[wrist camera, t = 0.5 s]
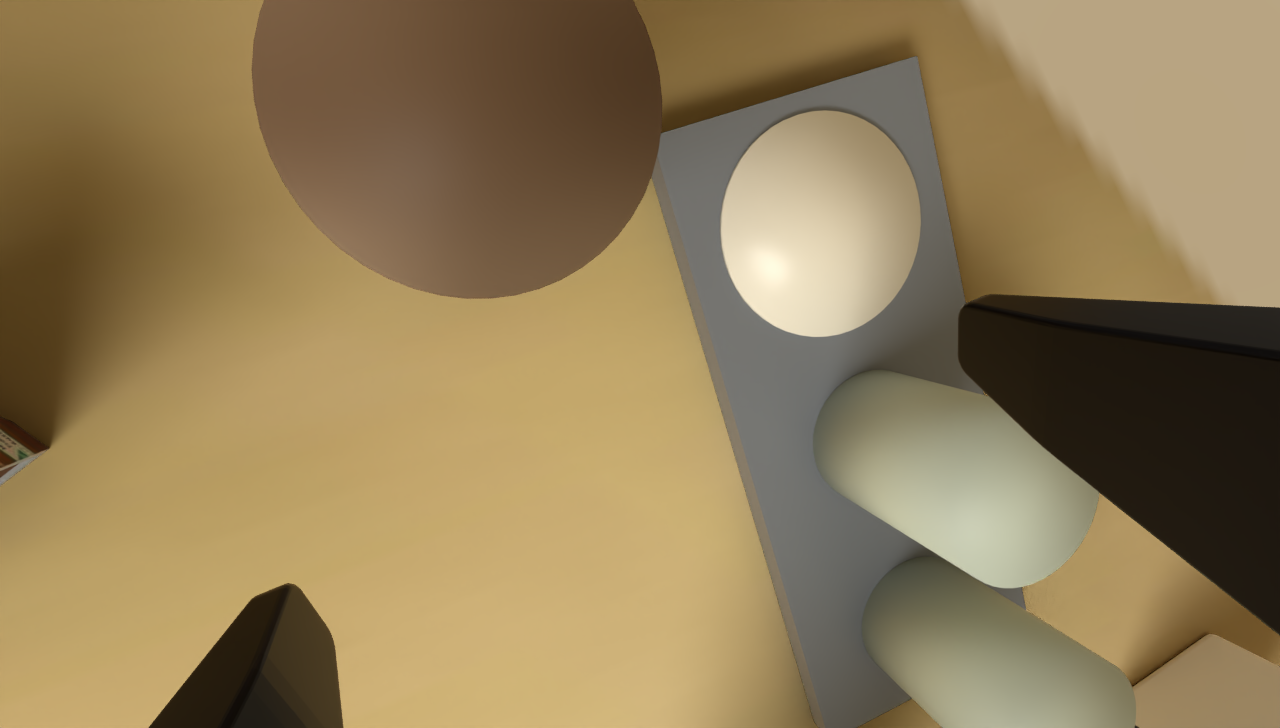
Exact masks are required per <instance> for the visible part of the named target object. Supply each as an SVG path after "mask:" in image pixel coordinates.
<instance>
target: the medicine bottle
mask: <svg viewBox="0 0 1280 728" xmlns="http://www.w3.org/2000/svg"><path fill="white" fill-rule="evenodd" d="M1132 688H1133V691H1134V695H1135V700H1136V721H1135V728H1280V666H1278V665H1276V664H1274V663H1272V662H1270V661H1268V660H1266V659H1264V658H1262V657H1260V656H1258V655H1256V654H1254V653H1252V652H1250V651H1248V650H1246V649H1244V648H1242V647H1240V646H1238V645H1236V644H1234V643H1232V642H1230V641H1228V640H1226V639H1224V638H1222V637H1220V636H1217V635H1214V634H1208V635H1206V636H1204V637H1203V638H1201V639H1200V640H1198V641H1197V642H1196V643H1194V644H1193V645H1191V646H1190V647H1189V648H1187V649H1186V650H1184V651H1183V652H1181V653H1180V654H1179V655H1177V656H1176V657H1174V658H1173V659H1171V660H1170V661H1169V662H1167V663H1166V664H1164V665H1163V666H1162V667H1160V668H1159V669H1157V670H1156V671H1154V672H1153V673H1152V674H1150V675H1149V676H1147V677H1146V678H1145V679H1143V680H1142V681H1140V682H1139V683H1137V684H1136V685H1135V686H1133V687H1132Z"/></svg>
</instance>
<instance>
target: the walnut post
mask: <svg viewBox="0 0 1280 728" xmlns="http://www.w3.org/2000/svg"><path fill="white" fill-rule="evenodd" d="M252 79H253V92H254V102H255V106H256V111H257V116H258V120H259V125H260V129H261V132H262V135H263V138H264V141H265V143H266V146H267V149H268V152H269V155H270V157H271V159H272V161H273V163H274V165H275V167H276V169H277V171H278V173H279V175H280V177H281V179H282V181H283V183H284V185H285V186H286V188H287V189H288V190H289V192H290V193H291V195H292V196H293V198H294V199H295V201H296V202H297V204H298V205H299V207H300V208H301V209H302V210H303V212H304V213H305V214H306V215H307V216H308V217H309V219H310V220H311V221H312V222H313V223H314V224H315V225H316V227H317V228H318V229H319V230H320V231H321V232H322V233H323V234H324V235H326V236H327V237H328V238H329V239H330V240H331V241H332V242H333V243H334V244H336V245H337V246H338V247H339V248H340V249H341V250H343V251H344V252H345V253H347V254H348V255H350V256H351V257H352V258H354V259H355V260H357V261H358V262H360V263H361V264H362V265H364V266H366V267H367V268H369V269H371V270H373V271H375V272H377V273H379V274H380V275H382V276H384V277H386V278H388V279H390V280H393V281H395V282H398V283H401V284H403V285H406V286H408V287H411V288H413V289H417V290H421V291H425V292H429V293H433V294H437V295H442V296H450V297H458V298H498V297H505V296H513V295H518V294H522V293H526V292H529V291H533V290H537V289H540V288H542V287H545V286H547V285H550V284H552V283H554V282H557V281H559V280H562V279H563V278H565V277H567V276H569V275H570V274H572V273H574V272H575V271H577V270H579V269H581V268H582V267H583V266H585V265H586V264H587V263H589V262H590V261H591V260H593V259H594V258H595V257H596V256H598V255H599V254H600V253H601V252H602V251H603V250H604V249H605V248H606V247H607V246H608V245H609V244H610V243H611V242H612V241H613V240H614V239H615V238H616V237H617V236H618V235H619V233H620V232H621V231H622V229H623V228H624V227H625V225H626V224H627V223H628V221H629V220H630V219H631V217H632V216H633V214H634V212H635V210H636V209H637V207H638V205H639V203H640V201H641V200H642V198H643V196H644V193H645V191H646V189H647V186H648V184H649V181H650V179H651V176H652V173H653V170H654V166H655V162H656V158H657V155H658V150H659V143H660V136H661V129H662V95H661V85H660V76H659V71H658V67H657V63H656V58H655V54H654V50H653V47H652V44H651V41H650V38H649V35H648V32H647V30H646V27H645V24H644V22H643V20H642V18H641V16H640V14H639V12H638V10H637V8H636V6H635V4H634V2H633V0H264V2H263V5H262V8H261V10H260V14H259V18H258V23H257V28H256V32H255V37H254V44H253V60H252Z"/></svg>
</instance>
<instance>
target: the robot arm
mask: <svg viewBox="0 0 1280 728" xmlns="http://www.w3.org/2000/svg"><path fill="white" fill-rule="evenodd" d="M957 355H958V361H959V364H960V366H961V368H962V370H963V371H964V372H965V374H966V375H967V376H968V377H969V378H970V379H971V380H973V381H974V382H975V383H976V384H977V385H978V386H979V387H980V388H981V389H982V390H983V391H984V392H985V393H986V394H987V395H988V396H989V397H990V398H991V399H992V400H993V401H994V402H995V403H997V404H998V405H999V406H1000V407H1001V408H1002V409H1003V410H1004V411H1005V412H1006V413H1007V414H1008V415H1009V416H1010V417H1011V418H1012V419H1013V420H1014V421H1015V422H1016V423H1017V424H1018V425H1019V426H1020V427H1022V428H1023V429H1024V430H1025V431H1026V432H1027V433H1028V434H1029V435H1030V436H1031V437H1032V438H1033V439H1034V440H1035V441H1036V442H1038V443H1039V444H1040V445H1041V446H1042V447H1043V448H1044V449H1045V450H1047V451H1048V452H1049V453H1050V454H1052V455H1053V456H1054V457H1055V458H1056V459H1058V460H1059V461H1060V462H1061V463H1063V464H1064V465H1065V466H1066V467H1068V468H1069V469H1070V470H1071V471H1073V472H1074V473H1075V474H1077V475H1078V476H1079V477H1080V478H1082V479H1083V480H1084V481H1085V482H1087V483H1088V484H1089V485H1090V486H1092V487H1093V488H1094V489H1095V490H1097V491H1098V492H1099V493H1100V494H1102V495H1103V496H1104V497H1106V498H1107V499H1108V500H1109V501H1111V502H1112V503H1113V504H1114V505H1116V506H1117V507H1118V508H1119V509H1121V510H1122V511H1123V512H1124V513H1126V514H1127V515H1128V516H1130V517H1131V518H1132V519H1133V520H1135V521H1136V522H1137V523H1138V524H1140V525H1141V526H1142V527H1143V528H1145V529H1146V530H1147V531H1148V532H1150V533H1151V534H1152V535H1154V536H1155V537H1156V538H1157V539H1159V540H1160V541H1161V542H1162V543H1164V544H1165V545H1166V546H1167V547H1169V548H1170V549H1171V550H1172V551H1174V552H1175V553H1176V554H1178V555H1179V556H1180V557H1181V558H1183V559H1184V560H1185V561H1186V562H1188V563H1189V564H1190V565H1191V566H1193V567H1194V568H1195V569H1196V570H1198V571H1199V572H1200V573H1202V574H1203V575H1204V576H1205V577H1207V578H1208V579H1209V580H1210V581H1212V582H1213V583H1214V584H1215V585H1217V586H1218V587H1219V588H1220V589H1222V590H1223V591H1224V592H1226V593H1227V594H1228V595H1229V596H1231V597H1232V598H1233V599H1234V600H1236V601H1237V602H1238V603H1239V604H1241V605H1242V606H1243V607H1244V608H1246V609H1247V610H1248V611H1249V612H1251V613H1252V614H1253V615H1255V616H1256V617H1257V618H1258V619H1260V620H1261V621H1262V622H1263V623H1265V624H1266V625H1267V626H1268V627H1270V628H1271V629H1272V630H1273V631H1275V632H1276V633H1277V634H1279V635H1280V308H1275V307H1253V306H1232V305H1211V304H1190V303H1168V302H1147V301H1126V300H1104V299H1083V298H1061V297H1040V296H1019V295H997V294H990V295H985V296H983V297H980V298H978V299H975V300H973V301H971V302H968V303H966V304H964V305H963V306H962V307H961V309H960V311H959V313H958V349H957ZM149 728H343V719H342V710H341V700H340V690H339V681H338V671H337V661H336V652H335V645H334V641H333V638H332V635H331V633H330V631H329V629H328V627H327V626H326V624H325V623H324V621H323V620H322V619H321V617H320V616H319V614H318V613H317V612H316V610H315V609H314V607H313V606H312V604H311V603H310V602H309V600H308V599H307V597H306V596H305V595H304V593H303V592H302V590H301V589H300V588H299V587H297V586H296V585H295V584H290V583H287V584H284V585H281V586H279V587H276V588H274V589H272V590H269V591H267V592H264V593H262V594H259V595H257V596H255V597H254V598H252V599H251V600H250V602H249V603H248V604H247V605H246V606H245V608H244V609H243V610H242V611H241V613H240V614H239V615H238V616H237V618H236V619H235V620H234V621H233V623H232V624H231V625H230V626H229V628H228V629H227V630H226V631H225V633H224V634H223V635H222V636H221V638H220V639H219V640H218V641H217V643H216V644H215V645H214V646H213V648H212V649H211V650H210V651H209V653H208V654H207V655H206V656H205V658H204V659H203V660H202V661H201V663H200V664H199V665H198V666H197V668H196V669H195V670H194V671H193V673H192V674H191V675H190V676H189V678H188V679H187V680H186V681H185V683H184V684H183V685H182V686H181V688H180V689H179V690H178V691H177V693H176V694H175V695H174V696H173V698H172V699H171V700H170V701H169V703H168V704H167V705H166V706H165V708H164V709H163V710H162V711H161V713H160V714H159V715H158V716H157V718H156V719H155V720H154V721H153V723H152V724H151V725H150V726H149Z"/></svg>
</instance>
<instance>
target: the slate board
mask: <svg viewBox="0 0 1280 728" xmlns="http://www.w3.org/2000/svg"><path fill="white" fill-rule="evenodd" d="M652 179H653V182H654V186H655V189H656V193H657V196H658V199H659V203H660V206H661V209H662V213H663V216H664V219H665V223H666V226H667V229H668V233H669V236H670V240H671V243H672V246H673V250H674V253H675V256H676V260H677V263H678V266H679V270H680V273H681V276H682V280H683V283H684V287H685V290H686V293H687V297H688V300H689V303H690V307H691V310H692V313H693V317H694V320H695V324H696V327H697V330H698V334H699V337H700V340H701V344H702V347H703V350H704V354H705V357H706V360H707V364H708V367H709V371H710V374H711V377H712V381H713V384H714V387H715V391H716V394H717V397H718V401H719V404H720V407H721V411H722V414H723V418H724V421H725V424H726V428H727V431H728V434H729V438H730V441H731V444H732V448H733V451H734V454H735V458H736V461H737V465H738V468H739V471H740V475H741V478H742V481H743V485H744V488H745V491H746V495H747V498H748V501H749V505H750V508H751V512H752V515H753V518H754V522H755V525H756V528H757V532H758V535H759V538H760V542H761V545H762V548H763V552H764V555H765V559H766V562H767V565H768V569H769V572H770V575H771V579H772V582H773V585H774V589H775V592H776V596H777V599H778V602H779V606H780V609H781V612H782V616H783V619H784V622H785V626H786V629H787V632H788V636H789V639H790V643H791V646H792V649H793V653H794V656H795V659H796V663H797V666H798V669H799V673H800V676H801V679H802V683H803V686H804V690H805V693H806V696H807V700H808V703H809V706H810V710H811V713H812V716H813V720H814V722H815V724H816V725H817V726H818V728H857V727H859V726H861V725H863V724H865V723H866V722H868V721H870V720H872V719H874V718H876V717H878V716H880V715H882V714H883V713H885V712H887V711H889V710H891V709H893V708H895V707H897V706H899V705H901V704H902V703H904V702H906V701H908V700H910V699H912V698H911V697H910V696H909V695H908V694H907V693H906V692H905V691H904V690H903V689H902V688H901V687H900V686H899V685H898V684H897V683H896V682H895V681H894V680H893V679H892V678H891V677H890V676H889V675H888V674H887V673H886V672H884V671H883V670H882V669H881V668H880V667H879V666H878V665H877V664H876V663H875V662H874V661H873V660H872V658H871V657H870V656H869V654H868V652H867V650H866V648H865V645H864V642H863V637H862V619H863V613H864V610H865V606H866V603H867V601H868V599H869V597H870V595H871V593H872V591H873V590H874V588H875V587H876V585H877V584H878V583H879V581H880V580H881V579H882V578H883V577H884V576H885V575H886V574H887V573H888V572H889V571H891V570H892V569H893V568H895V567H896V566H898V565H900V564H901V563H903V562H905V561H908V560H910V559H914V558H918V557H936V558H940V559H943V560H945V561H947V560H946V559H944V558H942V557H941V556H939V555H937V554H936V553H934V552H933V551H931V550H929V549H928V548H926V547H925V546H923V545H921V544H920V543H918V542H916V541H915V540H913V539H912V538H910V537H908V536H907V535H905V534H904V533H902V532H900V531H899V530H897V529H896V528H894V527H892V526H891V525H889V524H887V523H886V522H884V521H883V520H881V519H879V518H878V517H876V516H875V515H873V514H871V513H870V512H868V511H866V510H865V509H863V508H862V507H860V506H858V505H857V504H855V503H854V502H852V501H850V500H849V499H847V498H845V497H844V496H842V495H841V494H839V493H837V492H836V491H835V490H833V489H832V488H831V487H830V486H829V485H828V484H827V483H826V482H825V480H824V479H823V477H822V476H821V474H820V472H819V470H818V468H817V465H816V462H815V458H814V453H813V434H814V428H815V424H816V421H817V418H818V415H819V413H820V411H821V409H822V407H823V405H824V403H825V402H826V400H827V399H828V397H829V396H830V395H831V394H832V393H833V391H834V390H835V389H836V388H837V387H838V386H840V385H841V384H842V383H843V382H845V381H846V380H848V379H849V378H851V377H853V376H855V375H857V374H860V373H863V372H866V371H871V370H888V371H893V372H896V373H900V374H904V375H908V376H912V377H916V378H919V379H923V380H927V381H931V382H935V383H939V384H943V385H946V386H950V387H954V388H958V389H962V390H966V391H970V392H973V393H977V394H981V395H984V393H983V390H982V389H981V388H980V387H979V386H978V385H977V384H976V383H975V382H974V381H973V380H971V379H970V378H969V377H968V376H967V375H966V374H965V372H964V371H963V370H962V368H961V366H960V364H959V361H958V355H957V349H958V313H959V311H960V309H961V307H962V306H963V305H964V304H966V302H965V297H964V292H963V287H962V282H961V276H960V271H959V266H958V261H957V256H956V251H955V246H954V241H953V236H952V231H951V226H950V221H949V216H948V210H947V205H946V200H945V195H944V190H943V185H942V180H941V175H940V170H939V165H938V160H937V155H936V149H935V144H934V139H933V134H932V129H931V124H930V119H929V114H928V109H927V104H926V99H925V94H924V88H923V83H922V78H921V73H920V68H919V63H918V58H917V56H915V57H911V58H908V59H905V60H902V61H898V62H895V63H892V64H888V65H885V66H882V67H878V68H875V69H872V70H869V71H865V72H862V73H859V74H855V75H852V76H849V77H845V78H842V79H839V80H835V81H832V82H829V83H826V84H822V85H819V86H816V87H812V88H809V89H806V90H802V91H799V92H796V93H793V94H789V95H786V96H783V97H779V98H776V99H773V100H769V101H766V102H763V103H760V104H756V105H753V106H750V107H746V108H743V109H740V110H736V111H733V112H730V113H727V114H723V115H720V116H717V117H713V118H710V119H707V120H703V121H700V122H697V123H694V124H690V125H687V126H684V127H680V128H677V129H674V130H670V131H667V132H664V133H661V136H660V143H659V150H658V155H657V158H656V162H655V166H654V170H653V173H652ZM947 562H949V561H947ZM949 563H950V562H949ZM951 564H952V563H951ZM952 565H954V564H952ZM954 566H955V565H954ZM956 567H957V566H956ZM957 568H958V567H957ZM959 569H960V568H959ZM960 570H962V569H960ZM962 571H963V570H962ZM964 572H965V571H964ZM965 573H966V572H965ZM967 574H968V573H967ZM968 575H970V574H968ZM970 576H971V575H970ZM972 577H973V576H972ZM973 578H975V577H973ZM975 579H976V578H975ZM977 580H978V579H977ZM978 581H980V580H978ZM980 582H981V583H983V582H982V581H980ZM983 584H985V583H983ZM985 585H986V586H988V587H989V588H991V589H993V590H994V591H996V592H997V593H999V594H1001V595H1002V596H1004V597H1005V598H1007V599H1009V600H1010V601H1012V602H1014V603H1015V604H1017V605H1018V606H1020V607H1022V608H1023V609H1025V610H1026V607H1025V602H1024V597H1023V592H1022V587H1018V588H999V587H994V586H991V585H988V584H985Z"/></svg>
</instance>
